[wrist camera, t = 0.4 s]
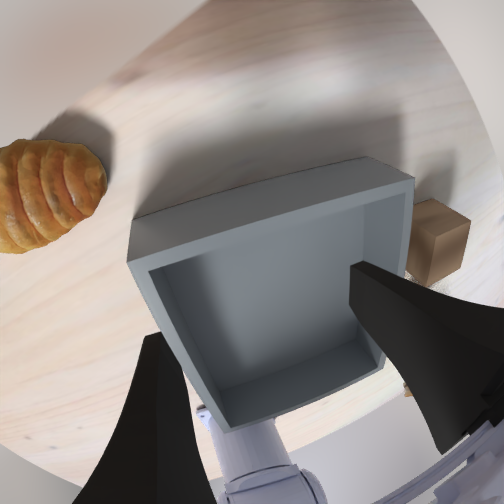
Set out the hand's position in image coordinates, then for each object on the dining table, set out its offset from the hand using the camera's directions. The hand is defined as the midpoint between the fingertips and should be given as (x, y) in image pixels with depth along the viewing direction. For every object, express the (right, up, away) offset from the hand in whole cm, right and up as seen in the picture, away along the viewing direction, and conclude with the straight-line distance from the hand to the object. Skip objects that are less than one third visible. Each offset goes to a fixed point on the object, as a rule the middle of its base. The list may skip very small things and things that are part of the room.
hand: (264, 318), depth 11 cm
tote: (+2, -1, +13) cm, 14 cm away
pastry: (-14, +6, +4) cm, 16 cm away
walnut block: (+15, +5, +15) cm, 21 cm away
